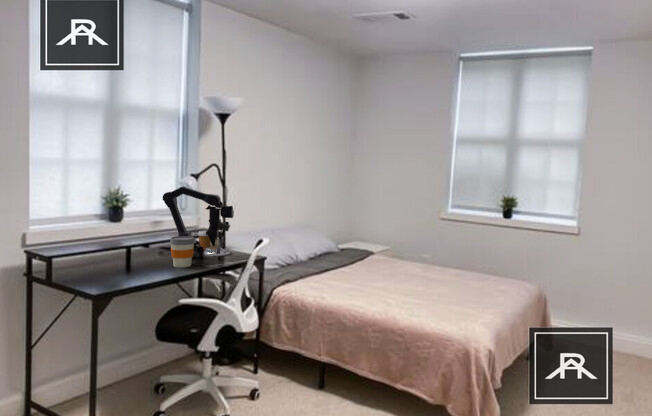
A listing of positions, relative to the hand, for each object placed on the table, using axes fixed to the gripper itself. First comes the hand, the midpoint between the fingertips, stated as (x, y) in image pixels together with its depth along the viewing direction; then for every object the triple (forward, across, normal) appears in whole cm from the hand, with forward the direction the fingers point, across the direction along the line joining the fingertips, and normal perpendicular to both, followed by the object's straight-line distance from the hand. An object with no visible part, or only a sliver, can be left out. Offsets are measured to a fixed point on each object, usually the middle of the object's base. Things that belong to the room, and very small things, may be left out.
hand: (214, 245), depth 296 cm
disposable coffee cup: (+9, +30, +11) cm, 34 cm away
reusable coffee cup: (+9, -14, +14) cm, 22 cm away
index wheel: (+8, +15, +1) cm, 17 cm away
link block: (+1, 0, 0) cm, 1 cm away
